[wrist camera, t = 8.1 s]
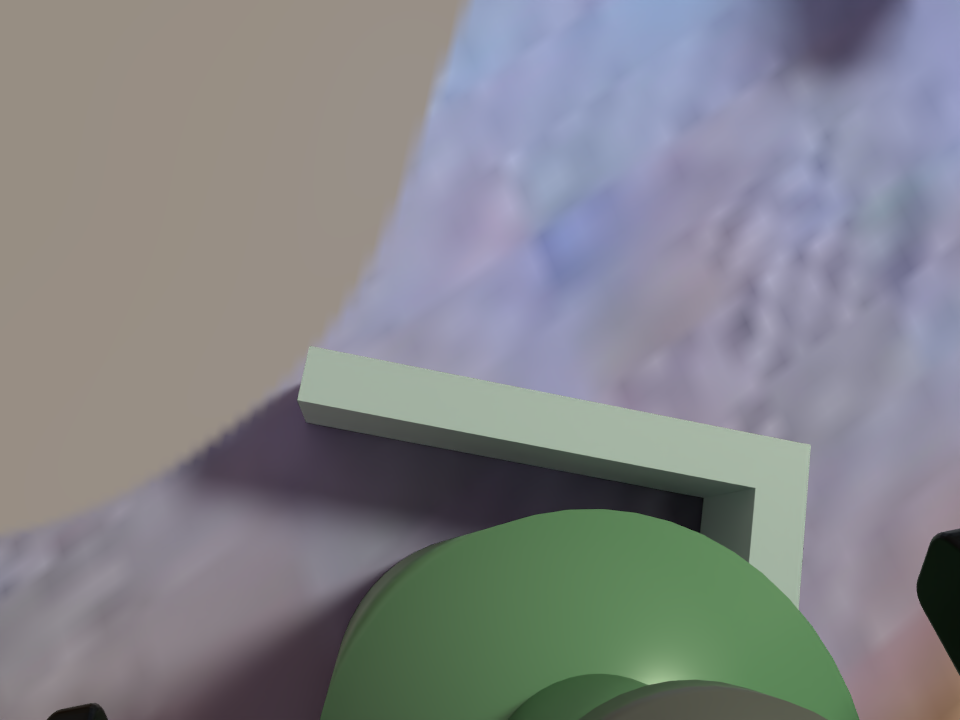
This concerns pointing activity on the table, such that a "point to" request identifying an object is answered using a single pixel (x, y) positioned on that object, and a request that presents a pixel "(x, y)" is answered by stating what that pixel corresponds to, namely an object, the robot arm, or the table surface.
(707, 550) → the bottle
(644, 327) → the table surface
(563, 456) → the u rest
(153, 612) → the table surface
